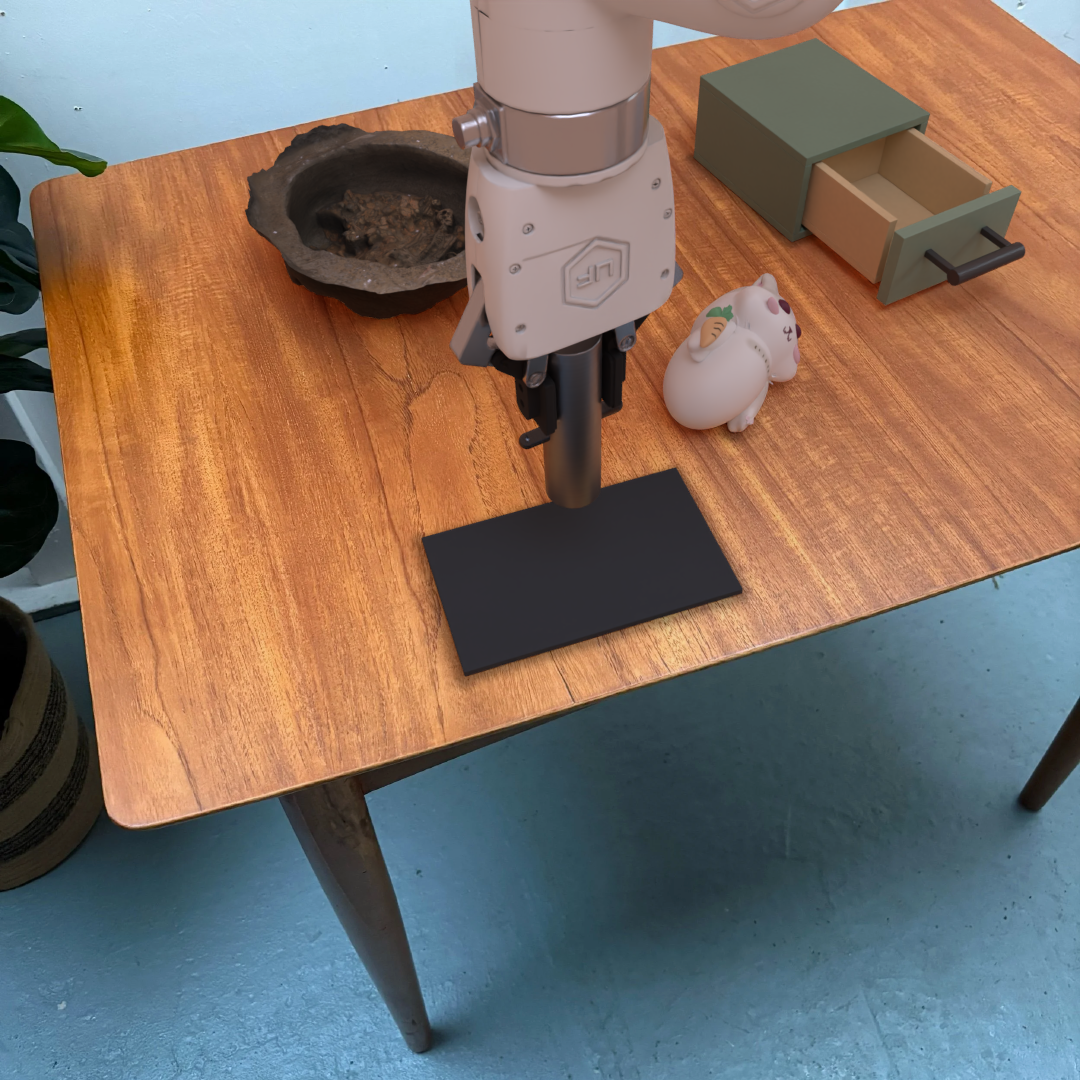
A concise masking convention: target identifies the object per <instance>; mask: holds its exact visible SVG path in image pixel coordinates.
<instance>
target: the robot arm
mask: <svg viewBox="0 0 1080 1080" xmlns="http://www.w3.org/2000/svg"><path fill="white" fill-rule="evenodd" d="M843 2H844V0H469V7H470V8H469V9H470V17H471V18H470V19H471V28H472V39H473V49H474V58H475V68H476V69H475V71H476V82H473V83H472V86H473V98H474V102H473V106H472V108H469V109H468V110H466V112H465V114H462V115H458V116H455V117H453V118H452V120H451V128H452V133H453V137H455V140H456V142H457V144H458V146H459V147H460V148H461V149H463V150H464V149H467V148H470V147H472V151H471V157H470V163H469V171H468V180H467V190H466V207H465V253H466V271H467V283H468V285H467V291H468V302H467V304H466V306H465V308H464V311H463V312H462V315H461V317H460V319H459V321H458V323H457V326H456V328H455V331H454V332H453V334H452V337H451V339H450V342H449V345H448V347H449V350H450V351H451V353H452V354H453V355H454V357H455V358H456V360H457V361H458V362H459V364H460V365H462V366H469V367H478V368H488V367H492V368H494V369H495V370H496V371H497V372H500V373H503V374H504V375H507V376H510V377H512V378H514V388H515V399H516V405H517V407H518V410H519V411H520V413H521V415H522V416H523V418H524V419H525V420H527V421H530V420H533V421H534V423H536V425H537V426H538V427H539V428H540V429H541V430H542V432H543V433H544V434H545V435H546V436H548V435H550V434H552V433H555V430H556V429H557V411H556V387H555V383H554V381H553V380H552V378H551V377H550V376H549V375H548V373H547V372H546V371H547V363H548V355H549V353H552V352H554V351H557V350H560V349H562V348H565V347H567V346H570V345H573V344H575V343H578V342H581V341H583V340H586V339H588V338H591V337H594V336H596V335H599V334H601V333H602V401H604V402H605V403H606V405H607V406H608V407H612V408H615V407H618V406H620V405H622V402H623V383H624V382H625V381H626V379H627V377H626V376H627V353H628V352H629V351H630V350H632V349H633V348H634V347H635V345H636V344H637V341H638V337H637V332H638V329H640V327H641V326H642V325H643V323H644V322H645V321H646V319H648V317H649V316H650V315H651V314H652V313H653V312H655V311H657V310H659V308H661V307H662V306H663V305H665V304H666V302H667V301H668V300H669V299H670V297H671V295H672V292H673V289H674V288H675V287H676V286H677V285H678V284H679V283H681V281H682V280H683V277H684V275H685V273H684V270H683V269H682V267H681V266H680V265H679V263H678V262H677V260H676V241H677V240H676V239H677V238H676V235H677V234H676V211H675V210H676V209H675V208H676V207H675V206H676V205H675V191H674V183H673V175H672V167H671V161H670V154H669V150H668V143H667V138H666V133H665V129H664V125H663V124H662V122H661V121H660V120H659V119H657V118H656V117H655V116H653V115H652V114H651V113H650V109H651V108H650V106H651V105H650V104H651V84H652V66H653V65H652V64H653V63H652V62H653V45H654V44H653V43H654V22H655V21H657V22H660V23H666V24H669V25H673V26H676V27H680V28H684V29H688V30H692V31H695V32H700V33H704V34H709V35H713V36H717V37H724V38H729V39H735V40H747V41H749V40H751V41H752V40H753V41H765V40H775V39H779V38H783V37H789V36H792V35H795V34H798V33H801V32H803V31H805V30H807V29H809V28H811V27H813V26H814V25H817V24H818V23H819V22H821V21H823V20H824V19H826V17H828V16H829V15H830V14H831V13H833V12H834V11H835V10H836V9H837V8H838V7H839V6H840V5H841V4H842V3H843Z"/></svg>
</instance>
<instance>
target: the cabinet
mask: <svg viewBox="0 0 1080 1080" xmlns="http://www.w3.org/2000/svg"><path fill="white" fill-rule="evenodd" d="M698 87H699V88H698V99H697V112H696V124H695V136H694V149H693V159H695V160H696V161H697V162H698V163H699V164H700V165H702V167H703V168H705V169H706V170H707V171H708V172H709V173H711V174H712V175H713V176H714V177H715V178H717V179H718V180H719V181H720V182H721V183H722V184H724V185H725V186H726V188H728V189H729V190H731V191H732V192H733V193H734V194H735V195H736V196H737V197H739V198H740V199H741V200H742V201H743V202H744V203H745V204H747V205H748V206H749V207H750V208H751V209H753V210H754V211H755V212H756V213H757V215H759V216H761V218H763V219H764V220H765V221H766V222H767V223H768V224H770V226H772V227H773V228H775V229H776V230H777V231H778V232H779V233H780V234H781V235H783V237H784V238H786V239H787V240H788V241H790V242H791V243H793V242H796V241H798V240H801V239H805V238H807V237H809V236H811V235H814V234H813V233H812V232H811V231H810V230H809V229H807V228H806V227H805V226H804V225H803V224H801V222H802V217H803V211H804V206H805V200H806V195H807V190H808V184H809V179H810V173H811V168H812V164H813V163H816V162H819V161H821V160H824V159H827V158H829V157H832V156H835V155H838V154H840V153H843V152H846V151H849V150H851V149H854V148H857V147H859V146H862V145H865V144H868V143H870V142H873V141H876V140H879V139H881V138H884V137H887V136H889V135H892V134H895V133H898V132H900V131H903V130H906V129H909V128H911V127H913V128H915V129H916V130H918V131H919V132H921V133H922V134H924V135H925V134H926V131H927V128H928V123H929V120H930V117H931V113H930V112H929V111H927V110H926V109H924V108H923V107H921V106H920V105H918V104H917V103H915V102H914V101H913V100H911V99H909V98H908V97H907V96H905V95H903V94H902V93H901V92H899V91H897V90H896V89H895V88H893V87H891V86H890V85H888V84H886V82H883V81H882V80H880V79H879V78H877V77H876V76H875V75H873V74H872V73H870V72H868V71H867V70H865V69H864V68H863V67H861V66H859V65H858V64H856V63H855V62H854V61H852V60H850V59H849V58H847V57H846V56H844V55H843V54H841V53H839V52H838V51H837V50H835V49H834V48H832V47H831V46H830V45H828V44H826V43H824V42H823V41H822V40H820V39H819V38H817V37H814V38H811V39H808V40H805V41H802V42H799V43H796V44H793V45H790V46H787V47H784V48H781V49H777V50H775V51H772V52H769V53H765V54H763V55H759V56H756V57H752V58H749V59H747V60H744V61H741V62H737V63H735V64H732V65H729V66H726V67H723V68H720V69H716V70H714V71H711V72H707V73H705V74H702V75H700V76H699V86H698ZM925 136H926V135H925Z"/></svg>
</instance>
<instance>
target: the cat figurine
mask: <svg viewBox="0 0 1080 1080" xmlns="http://www.w3.org/2000/svg"><path fill="white" fill-rule="evenodd" d="M801 336H802V328H801V327H800V325H798V323H797V319H796V316H795V313H794V311H793V309H792V307H791V306H790V304H789V302H788V301H786V300H785V298H784V297H782V296H781V295H780V293H779V289H778V283H777V280H776V277H775V276H774V275H773V274H771V273H768V272H765V273H762V274H761V275H760V276H759V277H758V278H757V279H756V280H755V281H754V282H753V283H752V284H751V285H747V286H739V287H737V288H734V289H732V290H730V291H728V292H725V293H724V294H722V295H721V296H719V297H718V298H717V299H714V301H712V302H711V303H709V304H708V305H707V306H706V307H705V308H704V309H703V310H701V312H699V314H698V315H697V316H696V318H695V320H694V321H693V324H692V327H691V329H690V333H689V335H688V336H687V337H686V338H685V339H684V340H683V341H682V342H681V344H680V345H679V346H678V347H677V348H676V350H675V351H674V352H673V354H672V356H671V357H670V360H669V361H668V363H667V366H666V369H665V371H664V376H663V381H662V394H663V400H664V404H665V407H666V409H667V411H668V413H669V414H670V416H671V417H672V418H673V419H674V420H675V421H676V422H677V423H678V424H680V425H681V426H683V427H685V428H687V429H691V430H709V429H713V428H716V427H719V426H721V425H724V424H726V423H727V429H728V431H730V432H731V433H741V432H743V431H745V429H747V428H748V427H749V425H754V423H755V417H756V416H757V415H758V413H759V412H760V410H761V408H762V406H763V405H764V402H765V399H766V397H767V394H768V392H769V384H771V385H774V383H773V382H776V383H784V382H789V381H790V380H792V379H794V377H795V376H796V374H797V373H798V372H797V371H798V366H799V363H800V361H801V354H800V349H799V339H800V338H801Z"/></svg>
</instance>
